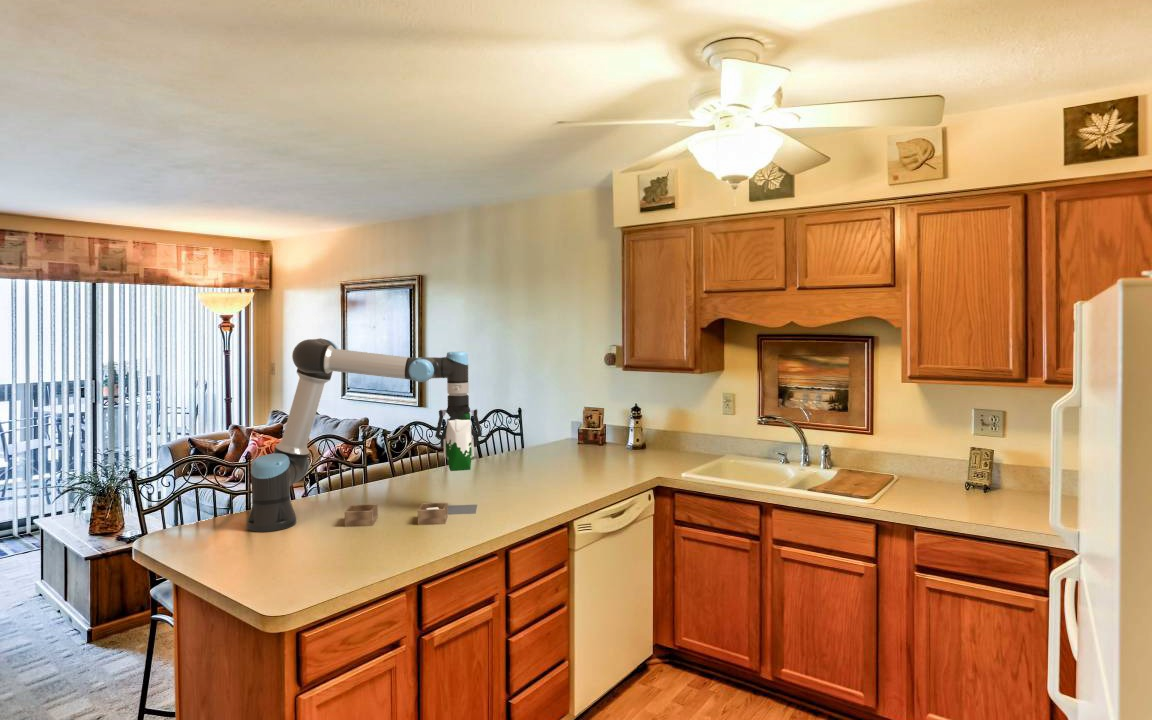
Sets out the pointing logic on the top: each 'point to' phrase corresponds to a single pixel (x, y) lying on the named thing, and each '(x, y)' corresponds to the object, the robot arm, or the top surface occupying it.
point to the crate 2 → (432, 514)
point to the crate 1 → (361, 515)
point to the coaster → (462, 509)
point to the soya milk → (459, 444)
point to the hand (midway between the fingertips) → (459, 456)
